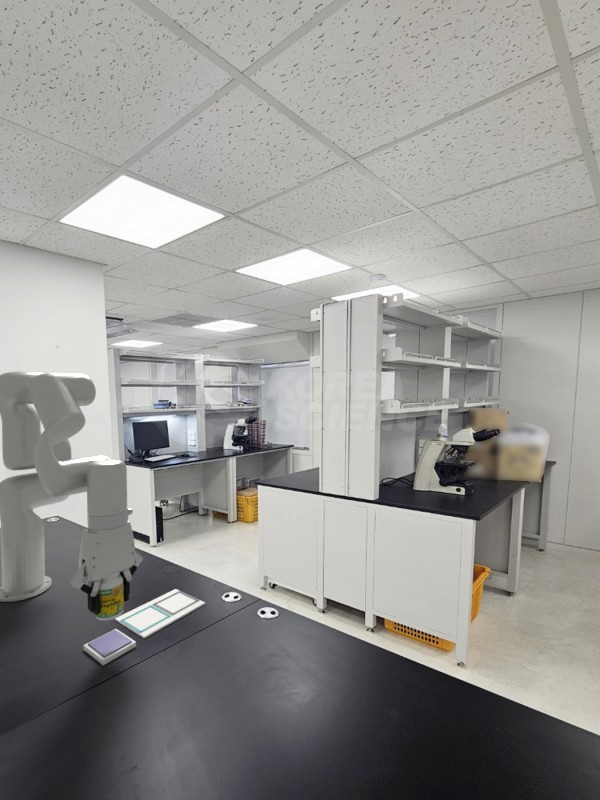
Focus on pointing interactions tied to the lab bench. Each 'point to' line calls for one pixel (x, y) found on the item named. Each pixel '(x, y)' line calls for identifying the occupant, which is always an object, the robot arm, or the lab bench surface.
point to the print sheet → (159, 612)
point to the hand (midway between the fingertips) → (109, 604)
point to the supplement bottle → (111, 597)
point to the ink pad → (109, 646)
